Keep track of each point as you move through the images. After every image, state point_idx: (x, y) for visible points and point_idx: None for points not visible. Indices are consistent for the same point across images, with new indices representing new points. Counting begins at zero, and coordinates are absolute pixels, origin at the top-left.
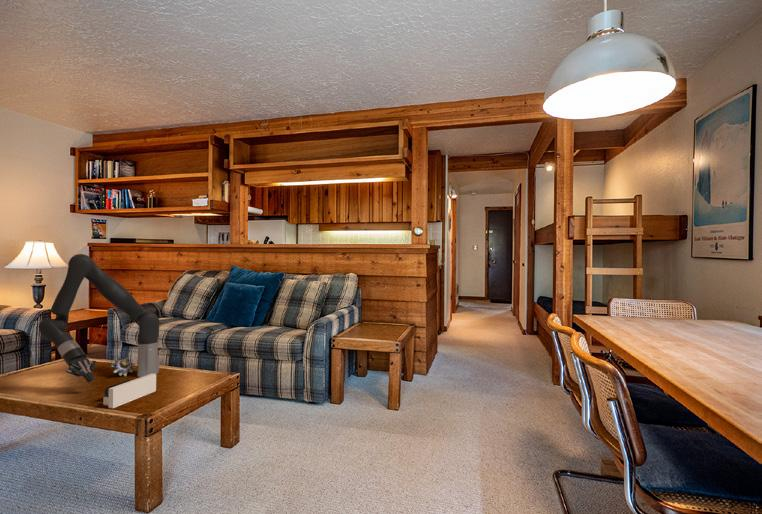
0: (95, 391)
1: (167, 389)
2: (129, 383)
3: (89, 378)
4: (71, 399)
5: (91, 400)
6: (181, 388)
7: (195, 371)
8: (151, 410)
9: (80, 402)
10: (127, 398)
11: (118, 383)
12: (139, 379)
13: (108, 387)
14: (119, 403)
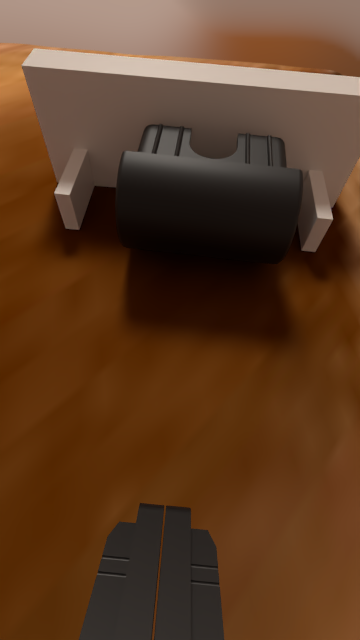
0: (94, 553)
1: (40, 137)
2: (258, 69)
3: (192, 545)
4: (345, 588)
5: (291, 374)
6: (26, 104)
7: None
8: None
9: (352, 419)
10: None
11: (223, 163)
12: (171, 63)
13: (302, 183)
14: None
